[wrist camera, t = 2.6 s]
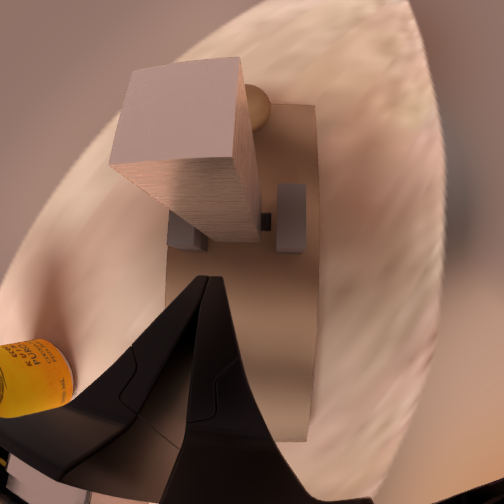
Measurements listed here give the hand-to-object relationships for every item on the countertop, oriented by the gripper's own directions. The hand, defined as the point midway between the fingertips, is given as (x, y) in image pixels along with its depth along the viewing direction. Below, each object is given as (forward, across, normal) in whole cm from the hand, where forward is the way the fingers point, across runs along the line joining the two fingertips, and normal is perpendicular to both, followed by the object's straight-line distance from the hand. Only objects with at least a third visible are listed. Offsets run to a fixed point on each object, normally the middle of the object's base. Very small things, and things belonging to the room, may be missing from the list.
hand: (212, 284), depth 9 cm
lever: (+7, 0, +2) cm, 7 cm away
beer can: (0, +16, +13) cm, 20 cm away
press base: (+7, 0, +6) cm, 9 cm away
